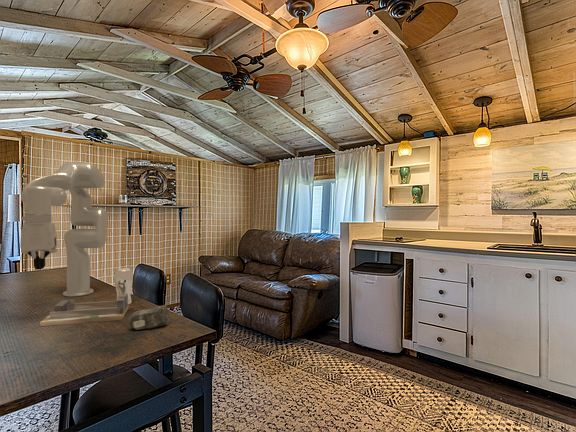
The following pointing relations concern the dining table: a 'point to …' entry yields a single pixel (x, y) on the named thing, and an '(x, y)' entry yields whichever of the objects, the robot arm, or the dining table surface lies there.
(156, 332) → the dining table surface
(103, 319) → the gauge board
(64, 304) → the slider
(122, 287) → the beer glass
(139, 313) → the stone
